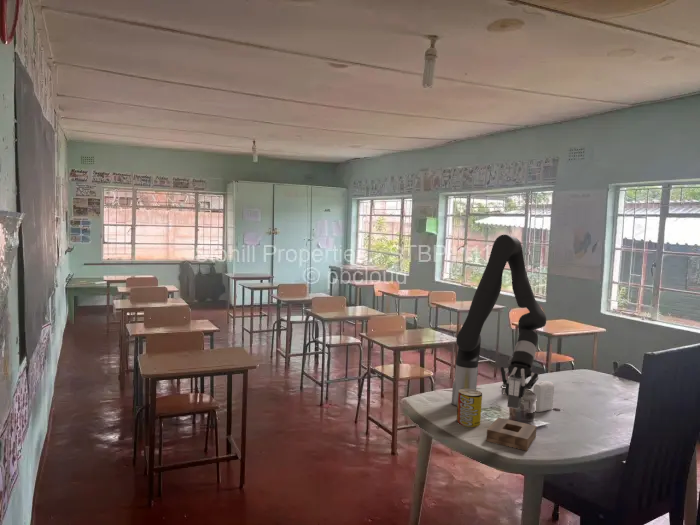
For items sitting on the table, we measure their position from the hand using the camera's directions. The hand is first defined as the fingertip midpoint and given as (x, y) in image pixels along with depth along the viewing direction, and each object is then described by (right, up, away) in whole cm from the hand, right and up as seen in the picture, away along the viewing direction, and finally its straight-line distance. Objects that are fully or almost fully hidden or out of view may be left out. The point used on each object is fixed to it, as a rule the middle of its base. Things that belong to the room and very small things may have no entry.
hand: (513, 395), depth 187 cm
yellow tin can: (-12, -15, +17) cm, 26 cm away
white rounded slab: (+24, -16, +37) cm, 46 cm away
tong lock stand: (0, -16, +3) cm, 17 cm away
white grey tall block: (+1, -4, +2) cm, 5 cm away
